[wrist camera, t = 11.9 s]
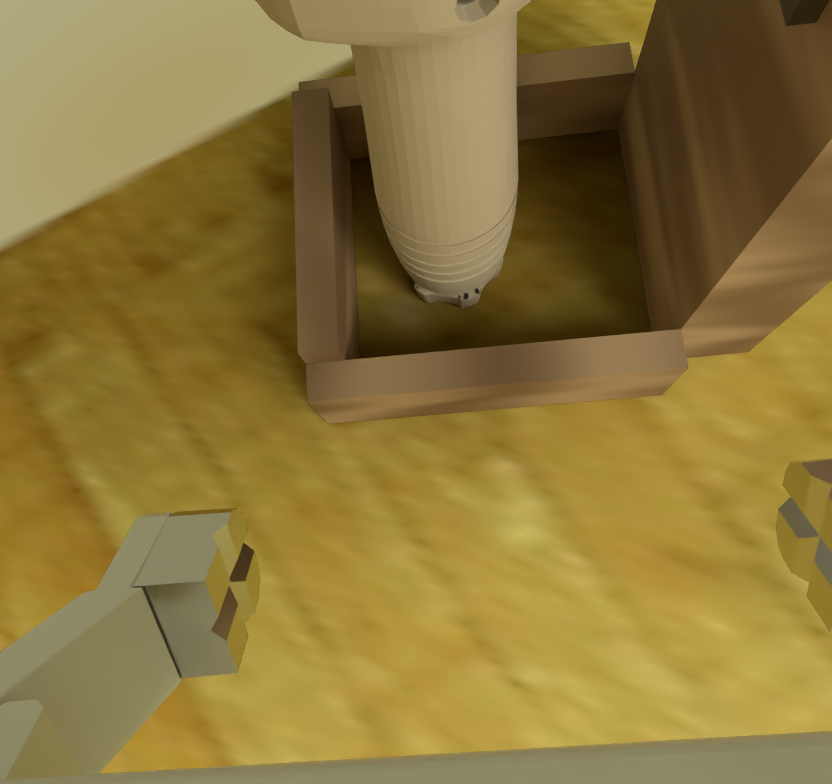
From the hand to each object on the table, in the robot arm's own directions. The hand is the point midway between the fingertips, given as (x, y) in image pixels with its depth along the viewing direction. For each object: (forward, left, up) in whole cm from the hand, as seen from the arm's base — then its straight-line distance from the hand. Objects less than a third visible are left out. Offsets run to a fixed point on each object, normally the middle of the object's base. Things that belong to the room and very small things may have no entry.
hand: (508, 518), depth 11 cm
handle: (0, +10, -12) cm, 16 cm away
